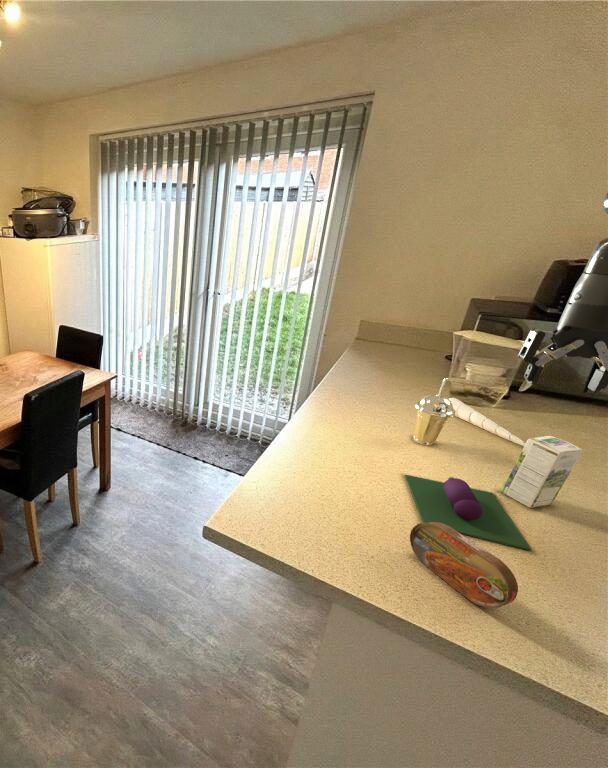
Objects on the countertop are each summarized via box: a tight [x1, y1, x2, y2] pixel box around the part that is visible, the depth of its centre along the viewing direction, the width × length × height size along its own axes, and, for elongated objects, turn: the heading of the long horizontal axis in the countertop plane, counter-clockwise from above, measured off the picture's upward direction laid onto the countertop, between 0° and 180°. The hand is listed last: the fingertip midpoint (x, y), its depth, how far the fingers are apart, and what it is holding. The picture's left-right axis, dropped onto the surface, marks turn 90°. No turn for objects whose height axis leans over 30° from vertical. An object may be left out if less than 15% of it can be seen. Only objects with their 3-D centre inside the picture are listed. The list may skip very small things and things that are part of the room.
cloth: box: [404, 474, 531, 552], centre depth 83 cm, size 16×18×1 cm
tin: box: [409, 522, 519, 609], centre depth 66 cm, size 15×3×8 cm, turn 13°
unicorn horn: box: [448, 397, 526, 447], centre depth 113 cm, size 5×24×5 cm, turn 4°
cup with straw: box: [412, 377, 474, 446], centre depth 104 cm, size 8×9×20 cm
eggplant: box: [443, 476, 483, 520], centre depth 83 cm, size 4×13×4 cm, turn 154°
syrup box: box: [501, 435, 584, 509], centre depth 83 cm, size 6×6×14 cm
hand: (561, 386), depth 74 cm, fingers open, 8 cm apart
